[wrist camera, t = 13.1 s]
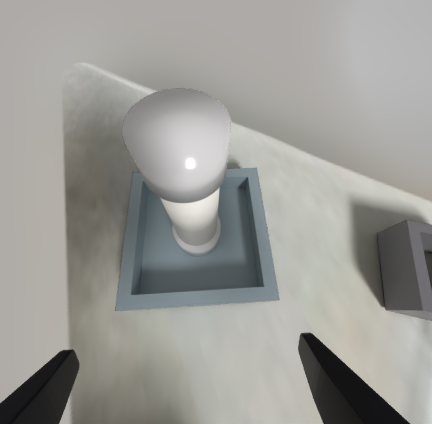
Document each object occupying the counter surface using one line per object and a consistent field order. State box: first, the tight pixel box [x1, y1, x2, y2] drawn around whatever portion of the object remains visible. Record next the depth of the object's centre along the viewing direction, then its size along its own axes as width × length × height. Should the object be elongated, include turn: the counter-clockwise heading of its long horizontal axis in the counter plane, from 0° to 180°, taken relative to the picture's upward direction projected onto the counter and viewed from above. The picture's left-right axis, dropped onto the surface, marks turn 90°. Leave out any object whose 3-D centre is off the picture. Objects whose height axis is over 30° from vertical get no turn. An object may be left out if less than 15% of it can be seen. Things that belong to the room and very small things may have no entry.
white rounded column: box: [122, 88, 232, 257], centre depth 14 cm, size 4×4×13 cm
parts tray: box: [115, 168, 280, 311], centre depth 19 cm, size 12×12×3 cm
